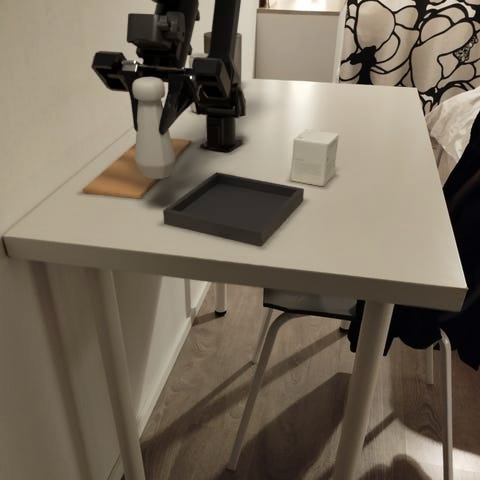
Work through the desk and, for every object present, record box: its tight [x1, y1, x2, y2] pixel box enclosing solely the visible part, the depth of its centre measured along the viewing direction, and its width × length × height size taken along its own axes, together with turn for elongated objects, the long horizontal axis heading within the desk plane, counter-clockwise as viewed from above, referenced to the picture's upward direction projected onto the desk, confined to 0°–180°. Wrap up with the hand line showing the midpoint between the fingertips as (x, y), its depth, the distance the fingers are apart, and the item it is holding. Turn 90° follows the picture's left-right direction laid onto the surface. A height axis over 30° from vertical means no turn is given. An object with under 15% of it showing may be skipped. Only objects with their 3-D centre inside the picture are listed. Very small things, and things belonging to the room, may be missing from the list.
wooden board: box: [82, 138, 191, 199], centre depth 95 cm, size 28×10×1 cm, turn 168°
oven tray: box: [162, 171, 305, 247], centre depth 79 cm, size 17×16×2 cm
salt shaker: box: [132, 77, 176, 180], centre depth 72 cm, size 6×6×13 cm
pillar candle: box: [203, 31, 243, 86], centre depth 132 cm, size 10×10×15 cm
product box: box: [290, 129, 340, 187], centre depth 88 cm, size 6×6×7 cm
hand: (148, 132), depth 71 cm, fingers closed on salt shaker, 3 cm apart
